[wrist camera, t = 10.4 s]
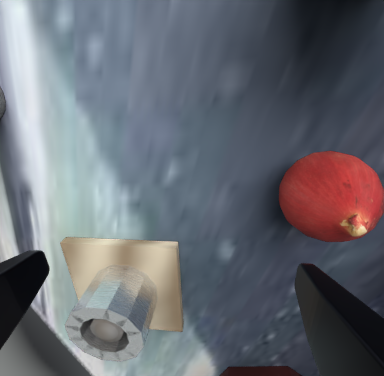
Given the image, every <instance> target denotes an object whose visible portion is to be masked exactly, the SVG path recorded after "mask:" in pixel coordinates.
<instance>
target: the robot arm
mask: <svg viewBox="0 0 384 376" xmlns="http://www.w3.org/2000/svg"><path fill="white" fill-rule="evenodd" d="M48 274H49V265H48V262H47V259H46V257H45V254H44V252H43V251H41V250H29V251H27V252H24V253H22V254H20V255H18V256H15V257H13V258H11V259H8V260H6V261H4V262H1V263H0V350H1V348H2V347H3V345H4V343H5V342H6V341H7V340H8V338H9V337H10V335H11V334H12V332H13V331H14V329H15V328H16V327H17V325H18V324H19V322H20V321H21V319H22V318H23V316H24V315H25V313H26V311H27V310H28V308H29V307H30V305H31V303H32V301H33V300H34V298H35V296H36V295H37V293H38V291H39V289H40V288H41V286H42V284H43V283H44V281H45V279H46V278H47V276H48ZM295 291H296V295H297V299H298V303H299V307H300V311H301V315H302V319H303V323H304V327H305V331H306V335H307V339H308V342H309V345H310V348H311V351H312V354H313V357H314V359H315V362H316V365H317V368H318V371H319V373H320V376H384V318H382V317H381V316H380V315H378V314H377V313H376V312H375V311H373V310H372V309H371V308H369V307H368V306H367V305H365V304H364V303H363V302H362V301H360V300H359V299H358V298H356V297H355V296H354V295H353V294H351V293H350V292H349V291H347V290H346V289H345V288H344V287H342V286H341V285H340V284H338V283H337V282H336V281H335V280H333V279H332V278H331V277H329V276H328V275H327V274H325V273H324V272H323V271H322V270H320V269H319V268H318V267H316V266H315V265H313V264H306V263H301V264H299V265H298V269H297V274H296V279H295Z"/></svg>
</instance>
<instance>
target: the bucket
mask: <svg viewBox="0 0 384 376" xmlns="http://www.w3.org/2000/svg"><path fill="white" fill-rule="evenodd" d="M220 376H302V375H300V374H299V373H297V372H296V371H294V370H293V369H291V368H290V367H288V366H259V367H228V368H227V369H226V370H225V371H224V372H223V373H222V374H221V375H220Z"/></svg>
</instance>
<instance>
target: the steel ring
mask: <svg viewBox="0 0 384 376" xmlns="http://www.w3.org/2000/svg"><path fill="white" fill-rule="evenodd" d="M157 300H158V295H157V288H156V285H155V284H154V282H153V281H152V280H151V279H150V278H149V276H148V275H147V274H146V273H144V272H142V271H140V270H138V269H136V268H134V267H132V266H130V265H110V266H108V267H106V268H104V269H102V270H99V271H98V273H97V274H96V276H95V277H94V279H93V280H92V282H91V283H90V285H89V286H88V288H87V289H86V291H85V292H84V294H83V295H82V297H81V298H80V300H79V301H78V302H77V304H76V305H75V307H74V308H73V310H72V311H71V313H70V315H69V317H68V319H67V322H66V324H65V328H66V331H67V333H68V336H69V339H70V340H71V341H72V342H73V343H74V344H75V345H77V346H78V347H79V348H80V349H81V350H82V351H83V352H85V353H88V354H90V355H92V356H94V357H97V358H99V359H101V360H110V361H120V362H121V361H124V360H128V359H131V358H135V357H136V356H137V355H138V354H139V352H140V351H141V350H142V348H143V347H144V344H145V341H146V337H147V334H148V331H149V327H150V324H151V320H152V317H153V314H154V310H155V307H156V303H157ZM94 319H105V320H108V321H110V322H112V323H115V324H117V325H119V326H120V327H121V328H122V329H123V330H124V333H123V335H122V337H121V339H120V340H118V341H115V342H107V341H104V340H101V339H99V338H97V337H96V336H95V335H94V334H93V333H92V331H91V329H90V326H91V323H92V322H93V320H94Z"/></svg>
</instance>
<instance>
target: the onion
mask: <svg viewBox="0 0 384 376" xmlns="http://www.w3.org/2000/svg"><path fill="white" fill-rule="evenodd" d="M279 203H280V207H281V209H282V211H283V213H284V216H285V218H286V219H287V220H288V222H289V223H290V224H291V225H293V226H294V227H295V228H297V229H298V230H299V231H301V232H302V233H303V234H305V235H306V236H309V237H312V238H315V239H319V240H322V241H325V242H344V241H350V240H354V239H358V238H361V237H363V236H364V235H365V234H367V233H368V232H370V231H371V230H372V229H374V228H375V226H376V224H377V223H378V221H379V220H380V218H381V216H382V215H383V213H384V189H383V187H382V184H381V182H380V180H379V177H378V175H377V174H376V172H375V171H374V170H373V169H372V168H371V167H369V166H368V165H367V164H365V163H364V162H363V161H362V160H360V159H358V158H357V157H355V156H352V155H348V154H344V153H339V152H334V151H325V152H316V153H312V154H310V155H308V156H306V157H304V158H301V159H299V160H297V161H296V162H295V163H294V164H293V165H292V166H291V167H290V168H289V169H288V170H287V171H286V173H285V175H284V177H283V179H282V181H281V184H280V186H279Z"/></svg>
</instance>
